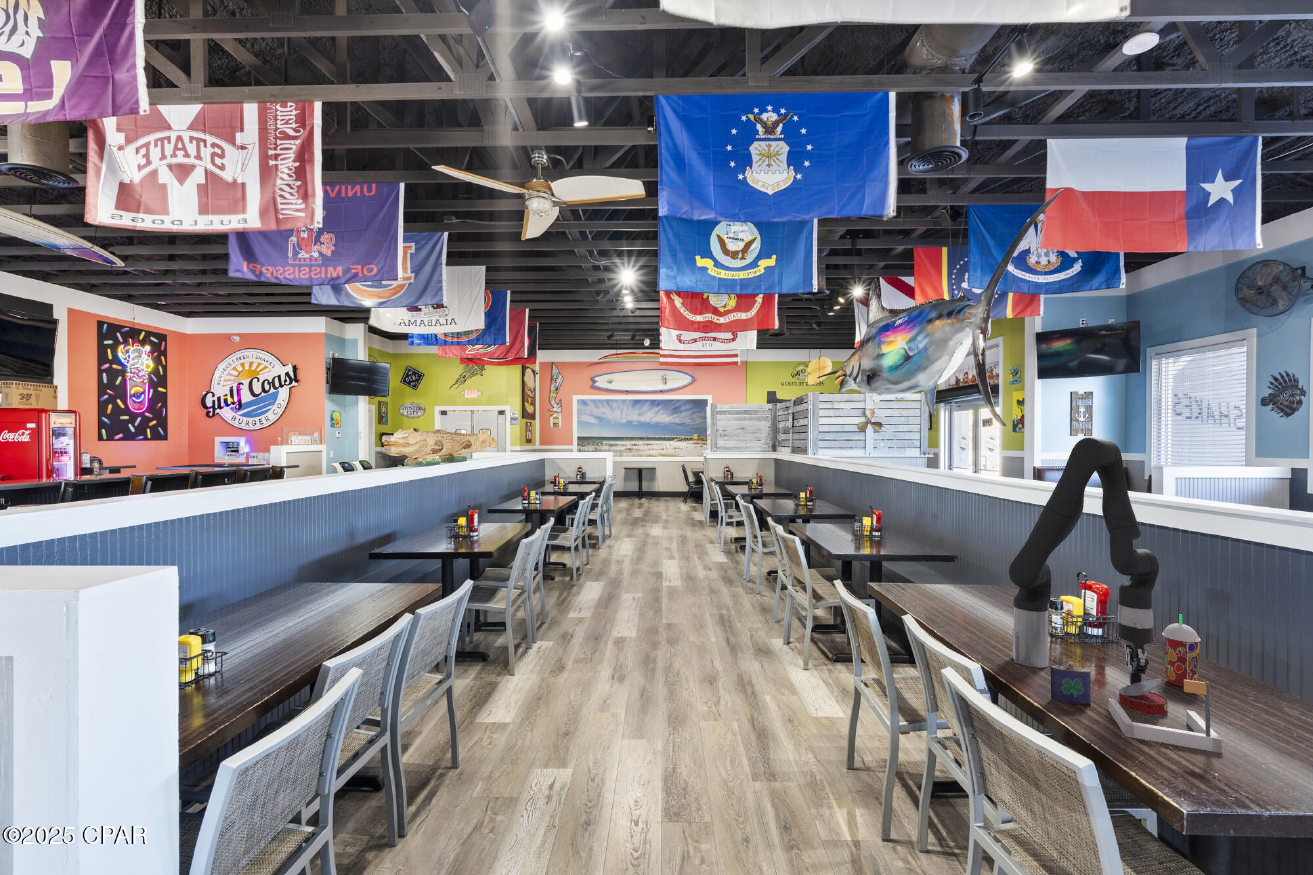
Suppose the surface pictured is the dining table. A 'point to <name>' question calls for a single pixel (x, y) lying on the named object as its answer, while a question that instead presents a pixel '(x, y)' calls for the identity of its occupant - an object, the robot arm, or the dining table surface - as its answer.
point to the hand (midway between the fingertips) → (1135, 686)
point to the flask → (1070, 685)
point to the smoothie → (1181, 653)
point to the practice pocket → (1197, 739)
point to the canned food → (1143, 698)
